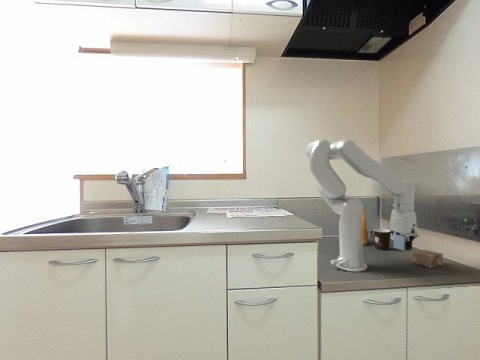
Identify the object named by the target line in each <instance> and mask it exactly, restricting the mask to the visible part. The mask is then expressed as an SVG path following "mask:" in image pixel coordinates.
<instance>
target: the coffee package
mask: <svg viewBox="0 0 480 360" xmlns="http://www.w3.org/2000/svg"><path fill="white" fill-rule="evenodd" d="M363 208H364V211H363V218H362V244H363V246H366V245H367V244H369V242H368V241H369V240H368V238H369V237H368V235H369V233H368V231H367V221H366V210H365V206H363Z"/></svg>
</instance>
